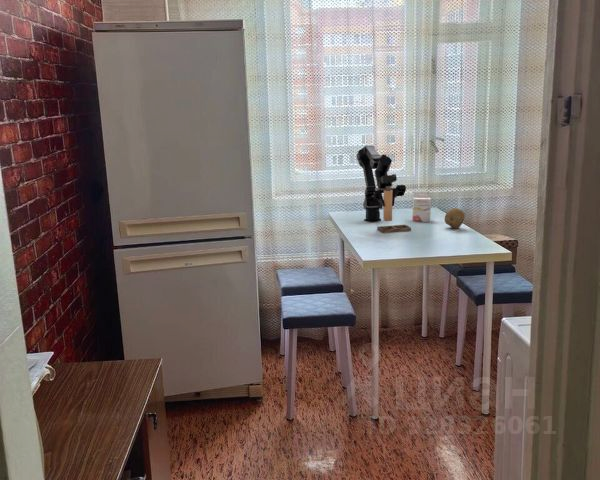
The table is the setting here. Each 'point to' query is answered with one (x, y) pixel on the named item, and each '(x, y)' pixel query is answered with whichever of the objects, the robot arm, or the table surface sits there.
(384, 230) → the brown divided tray
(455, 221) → the natural sponge
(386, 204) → the tan rounded column
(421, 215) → the ink cartridge box
